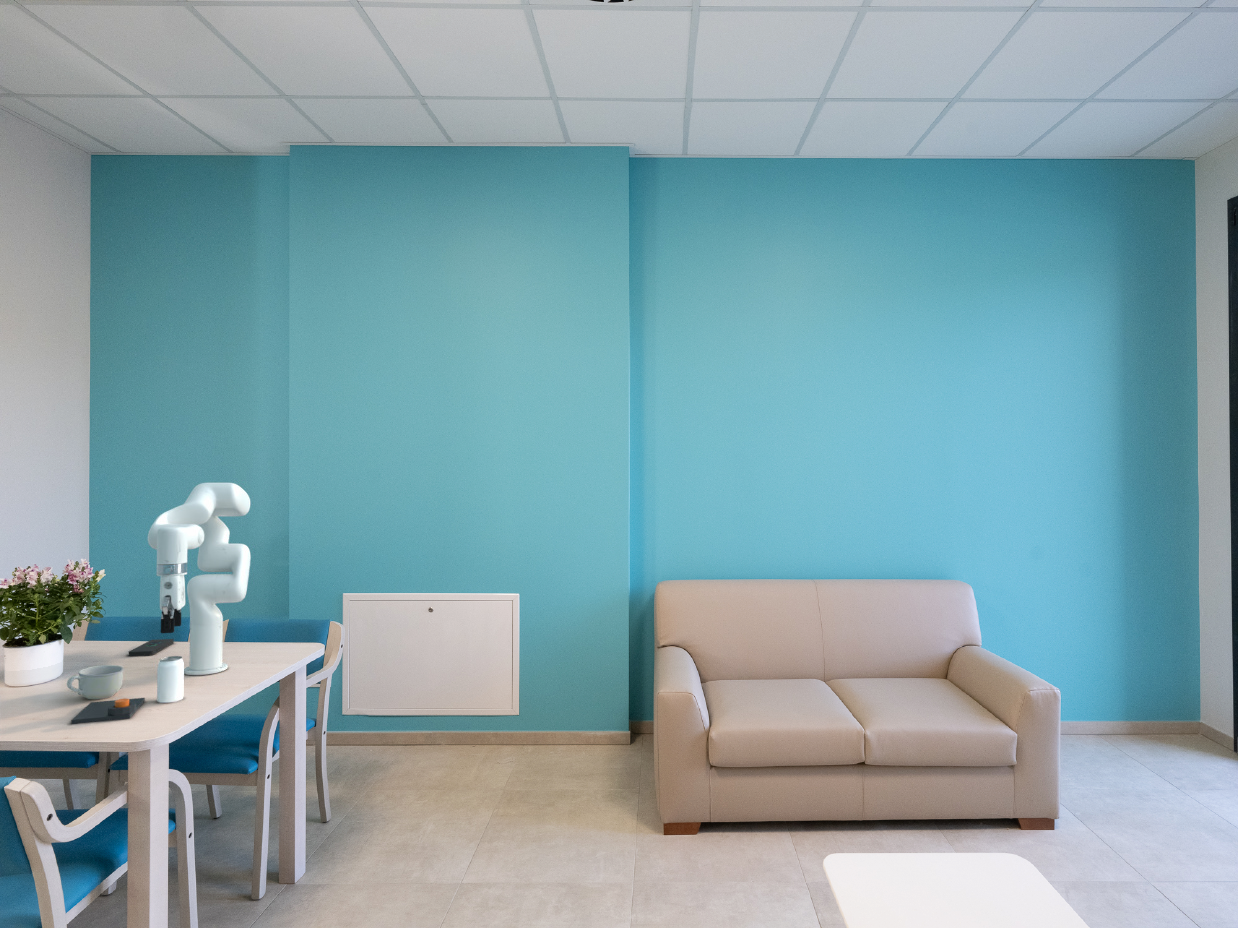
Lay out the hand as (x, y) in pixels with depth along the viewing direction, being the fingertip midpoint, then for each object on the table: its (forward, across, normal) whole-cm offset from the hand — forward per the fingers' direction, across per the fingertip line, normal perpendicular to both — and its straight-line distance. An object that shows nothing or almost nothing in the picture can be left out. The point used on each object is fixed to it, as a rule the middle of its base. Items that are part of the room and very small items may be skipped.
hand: (171, 629), depth 213 cm
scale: (+20, -7, +13) cm, 25 cm away
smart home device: (+20, +73, +20) cm, 78 cm away
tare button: (+18, -12, +9) cm, 23 cm away
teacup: (+20, +10, +21) cm, 31 cm away
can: (+20, 0, 0) cm, 20 cm away
